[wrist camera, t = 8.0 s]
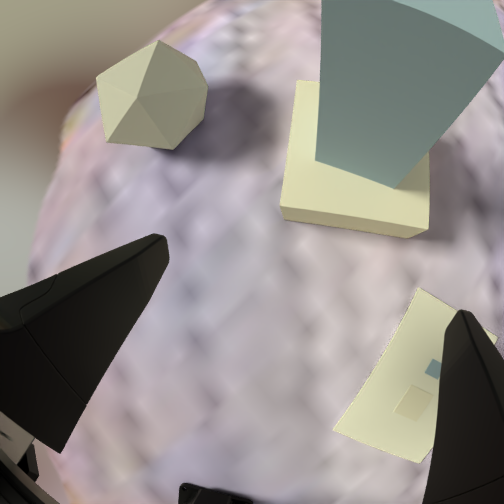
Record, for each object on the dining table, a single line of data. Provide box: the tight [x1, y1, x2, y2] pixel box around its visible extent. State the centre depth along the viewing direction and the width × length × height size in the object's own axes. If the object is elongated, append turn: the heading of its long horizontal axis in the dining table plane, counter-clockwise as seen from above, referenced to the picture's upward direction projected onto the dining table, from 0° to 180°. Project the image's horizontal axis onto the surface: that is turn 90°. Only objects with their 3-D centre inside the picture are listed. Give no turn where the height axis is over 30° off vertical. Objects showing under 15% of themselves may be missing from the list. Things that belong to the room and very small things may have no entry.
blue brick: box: [315, 0, 504, 189], centre depth 11 cm, size 4×5×12 cm
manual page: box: [333, 288, 498, 464], centre depth 18 cm, size 12×9×1 cm
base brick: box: [280, 80, 430, 239], centre depth 19 cm, size 9×9×4 cm
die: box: [96, 40, 208, 150], centre depth 20 cm, size 8×9×10 cm
